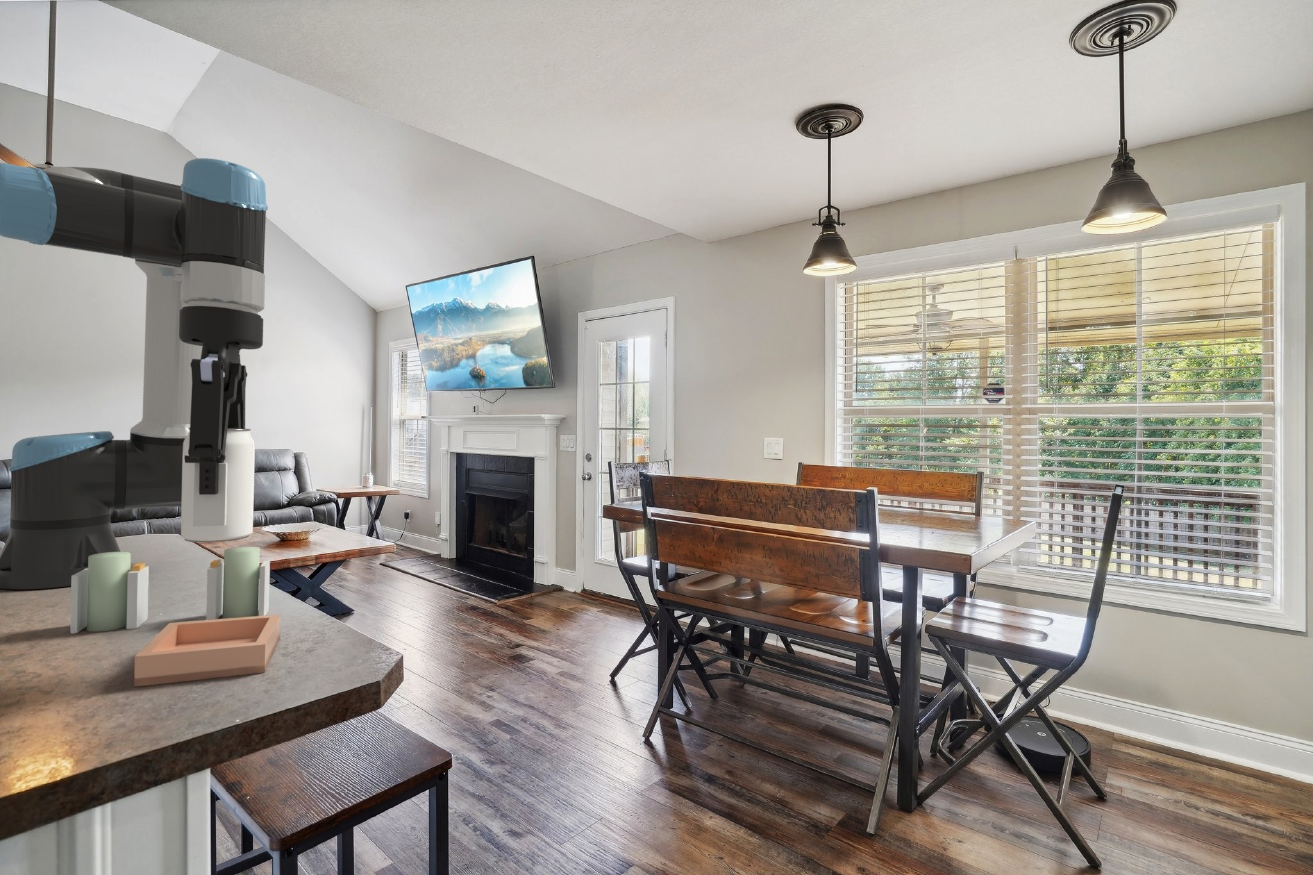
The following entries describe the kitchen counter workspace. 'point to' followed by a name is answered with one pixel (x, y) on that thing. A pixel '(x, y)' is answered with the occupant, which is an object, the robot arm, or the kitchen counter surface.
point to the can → (238, 492)
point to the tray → (208, 650)
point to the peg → (107, 590)
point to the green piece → (241, 582)
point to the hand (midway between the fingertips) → (218, 519)
